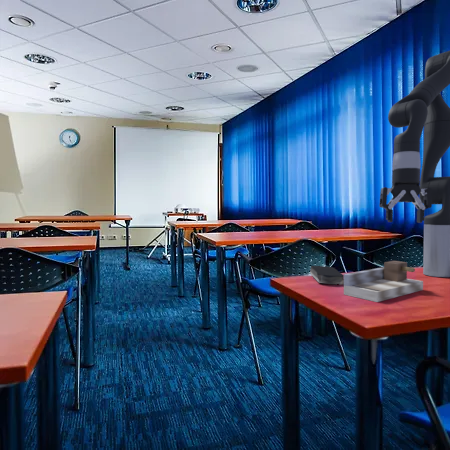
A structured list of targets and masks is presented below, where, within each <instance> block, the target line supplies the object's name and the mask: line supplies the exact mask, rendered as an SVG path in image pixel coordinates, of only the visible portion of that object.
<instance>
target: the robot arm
mask: <svg viewBox="0 0 450 450" xmlns="http://www.w3.org/2000/svg"><path fill="white" fill-rule="evenodd" d="M424 68H425V69H424V79H422V80H421V81H419V82H418V83H417V84H416V85H415V86H414V88H412V90H411V91H410V92H409V94H407V95H405V96H404V97H402V98H401V99H399V100H398V101H397V102H395V103H394V104H393V105H392V107H390V109H389V111H388V116H387V119H388V123H389V124H390V125H391V126H392V127H393V128H397V129H398V128H399V129H400V128H404V127H407V128H406V129H405V130H404V131H403V132H401V133H398V134H397V135H395V137H394V139H393V158H392V165H391V166H392V167H391V168H392V170H391V171H392V174H391V178H392V179H391V188H390V187H386V186H385V187H382V188H381V189H380V194H379V195H380V196H379V205H378V207H379V208H383V209H384V210H385V220H386V221H387V223H393V222H394V219H393V217H394V216H393V215H394V209H393V208H394V207H395V206H396V205H397V204H398V203H411V204H413V205H414V207H415V208H416V209H417V211H416V223H418V224H422V223H423V259H422V260H423V263H422V265H423V266H422V267H423V268H422V274H423V275H426V276H430V277H439V278H450V176H449V175H448V176H435V174H436V169H437V166H438V164H439V162H440V160H441V159H442V158H443V156H444V155H445V153H447V151H448V149H449V148H450V106H449V105H448V104H447V103H446V102H445V100H444V98H443V96H442V94H441V92H443V91H444V90H445V89H446V88H447V87H448V86H450V50H448V51H447V50H446V51H444V52H441V53H439V54H435V55H433V56H430V57H429V58H428V59H427V60H426V62H425V66H424ZM422 134H423V155H422V164H421V154H420V149H421V148H420V147H421V146H420V145H421V137H422ZM421 165H422V166H421ZM390 193H391V195H392V198H391V199H390V200H389V202H388V203H387V201H388V200H387V199H388V196H389V194H390ZM432 205H442V207H441V208H440V209H439V210H438V211H436V212H433V213H431V214H428V215H425V212H426V210H427V209H431V208H432Z"/></svg>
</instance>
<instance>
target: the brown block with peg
mask: <svg viewBox="0 0 450 450" xmlns="http://www.w3.org/2000/svg"><path fill="white" fill-rule="evenodd" d="M383 263H384V264H383V267H384V280H390V281H396V282H398V281H403V280H407V279H408V272H410V273H413V272H414V273H415V271H416V269H415V268H414V267H412V266H411V267H409V266H408V262H406V261H399V260H389V261H385V262H383Z"/></svg>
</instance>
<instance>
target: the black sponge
mask: <svg viewBox="0 0 450 450" xmlns="http://www.w3.org/2000/svg"><path fill="white" fill-rule="evenodd" d="M309 271H310V275H311V277H312V278H314V280H315V281H317V282H318V283H319V284H328V285H337V284H339V285H343V286H344V274H342V272H340V271H338V269H336V268H335V267H332V266H324V265H311V266H310V270H309ZM339 285H338V286H339Z"/></svg>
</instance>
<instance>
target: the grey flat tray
mask: <svg viewBox="0 0 450 450" xmlns="http://www.w3.org/2000/svg"><path fill="white" fill-rule="evenodd" d="M343 275H344V284H343V295H345V296H349V297H353V298H357V299H362V300H365V301H371V302H373V303H374V302H375V303H379V302H383V301H387V300H391V299H394V298H398V297H402V296H405V295H409V294H412V293H418V292H419V291H423V290H424V280H419V279H412V278H407V280H403V281H398V282H396V281H390V280H384V266H383V267H377V268H372V269H371V268H370V269H365V270H361V271H355V272H349V273H344V274H343Z"/></svg>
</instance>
